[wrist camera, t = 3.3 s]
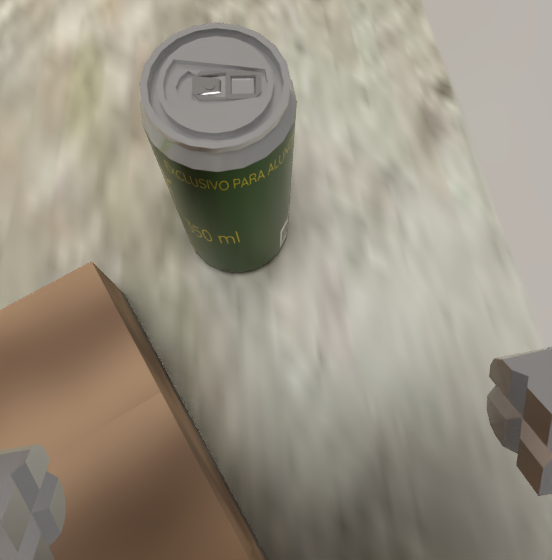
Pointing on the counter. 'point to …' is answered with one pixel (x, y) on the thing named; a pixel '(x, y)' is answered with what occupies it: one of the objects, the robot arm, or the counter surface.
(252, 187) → the beer can
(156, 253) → the counter surface
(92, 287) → the socket board
